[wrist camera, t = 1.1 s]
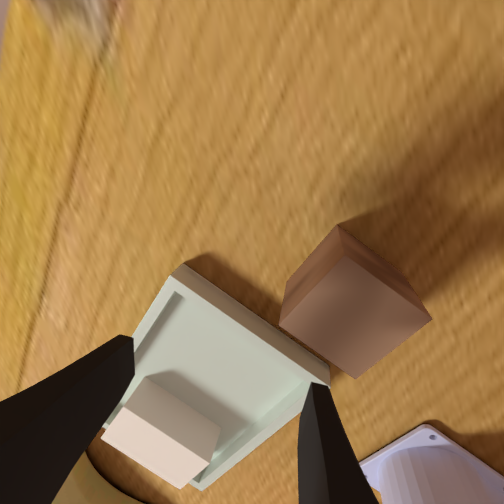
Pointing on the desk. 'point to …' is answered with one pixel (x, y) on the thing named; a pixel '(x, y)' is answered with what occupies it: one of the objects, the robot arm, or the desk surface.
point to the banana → (89, 487)
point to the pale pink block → (163, 434)
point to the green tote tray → (221, 366)
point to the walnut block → (350, 304)
